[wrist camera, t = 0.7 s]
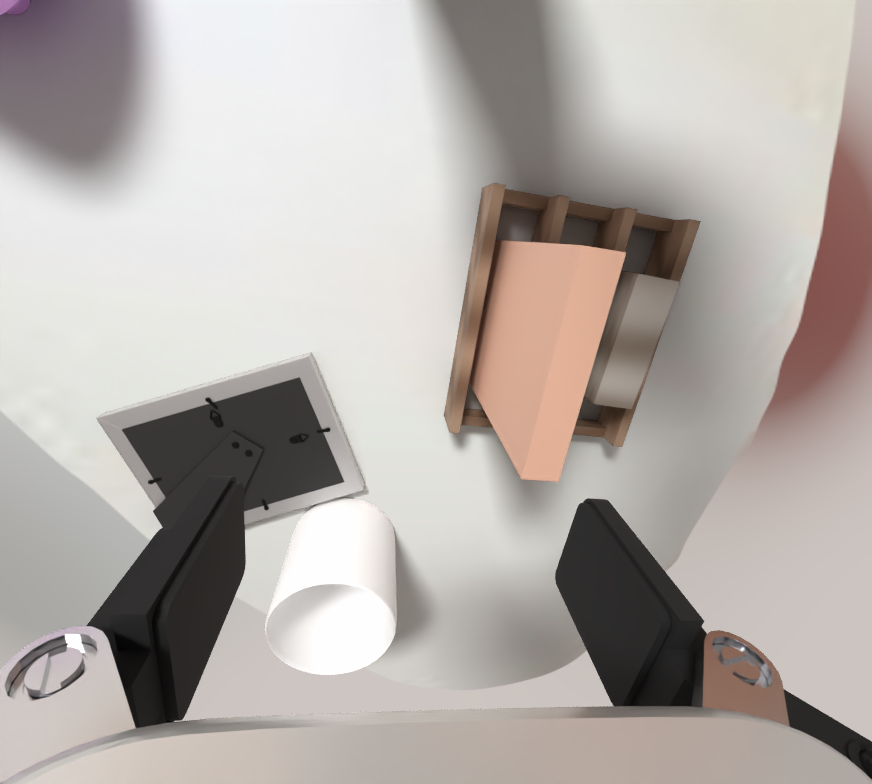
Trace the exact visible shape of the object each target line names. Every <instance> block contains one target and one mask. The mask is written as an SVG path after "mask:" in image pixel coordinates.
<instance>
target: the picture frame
mask: <svg viewBox="0 0 872 784" xmlns="http://www.w3.org/2000/svg"><path fill="white" fill-rule="evenodd" d="M96 419H97V420H98V422H99V423H100V425H101V426H102V428H103V429H104V431H105V432H106V434H107V435H108V437H109V438H110V440H111V441H112V443H113V444H114V446H115V447H116V449H117V450H118V452H119V453H120V455H121V456H122V458H123V459H124V461H125V462H126V464H127V465H128V467H129V468H130V470H131V471H132V473H133V474H134V476H135V477H136V479H137V480H138V482H139V483H140V485H141V486H142V488H143V489H144V491H145V492H146V494H147V495H148V497H149V498H150V500H151V501H152V503H153V504H154V506H155V507H156V509H155V510H154V511H153V512H154V514H155V516H156V517H157V519H158V520H159V522H160V524H161V525H162V527H163V528H164V527H173V526H174V524H175V523H176V522H177V520H178V519H179V517H180V516H181V515H182V513H183V512H184V510H185V509H186V508H187V506H188V505H189V503H190V502H191V501H192V499H193V498H194V496H195V495H196V494H197V492H198V491H199V489H200V488H201V487H202V485H203V484H204V482H205V481H206V480H207V478H208V477H209V476H211V475H215V476H232V477H235V478H236V483H242V484H243V490H244V525H246V524H249V523H253V522H256V521H260V520H263V519H267V518H270V517H273V516H277V515H280V514H284V513H287V512H290V511H294V510H297V509H301V508H304V507H308V506H311V505H314V504H318V503H321V502H325V501H328V500H331V499H335V498H338V497H342V496H345V495H349V494H352V493H355V492H359V491H362V490H364V480H363V477H362V475H361V473H360V470H359V468H358V465H357V463H356V460H355V458H354V455H353V453H352V450H351V448H350V445H349V443H348V441H347V438H346V436H345V433H344V431H343V428H342V426H341V423H340V421H339V418H338V416H337V413H336V411H335V409H334V406H333V404H332V401H331V399H330V396H329V394H328V391H327V389H326V386H325V384H324V381H323V379H322V376H321V374H320V372H319V369H318V367H317V364H316V362H315V359H314V357H313V354H312V352H310V353H307V354H303V355H300V356H297V357H293V358H290V359H286V360H283V361H280V362H276V363H273V364H269V365H266V366H262V367H259V368H256V369H252V370H249V371H245V372H242V373H238V374H235V375H232V376H228V377H225V378H221V379H218V380H215V381H211V382H208V383H204V384H201V385H197V386H194V387H191V388H187V389H184V390H180V391H177V392H173V393H170V394H167V395H163V396H160V397H156V398H153V399H150V400H146V401H143V402H139V403H136V404H132V405H129V406H126V407H122V408H119V409H115V410H112V411H109V412H105V413H104V414H102V415H101V416H99V417H97V418H96Z"/></svg>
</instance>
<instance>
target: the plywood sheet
mask: <svg viewBox="0 0 872 784" xmlns="http://www.w3.org/2000/svg"><path fill="white" fill-rule="evenodd" d="M625 256H626V252H620V251H614V250H608V249H602V248H596V247H590V246H584V245H571V244H554V243H538V242H521V241H504V240H495V245H494V250H493V256H492V261H491V266H490V272H489V277H488V282H487V288H486V293H485V298H484V304H483V309H482V314H481V320H480V325H479V330H478V336H477V341H476V347H475V352H474V357H473V363H472V368H471V373H470V379H469V383H470V385H471V387H472V389H473V391H474V393H475V394H476V396H477V398H478V400H479V402H480V404H481V406H482V407H483V409H484V411H485V413H486V415H487V417H488V418H489V420H490V422H491V424H492V426H493V428H494V429H495V431H496V433H497V435H498V437H499V439H500V441H501V442H502V444H503V446H504V448H505V450H506V452H507V453H508V455H509V457H510V459H511V461H512V463H513V465H514V466H515V468H516V470H517V472H518V474H519V476H520V477H521V479H527V480H541V481H556V482H559V479H560V475H561V472H562V468H563V465H564V462H565V458H566V455H567V452H568V448H569V445H570V441H571V438H572V435H573V431H574V428H575V425H576V421H577V418H578V414H579V411H580V408H581V404H582V401H583V398H584V394H585V391H586V387H587V384H588V381H589V377H590V374H591V371H592V367H593V364H594V360H595V357H596V354H597V350H598V347H599V344H600V340H601V337H602V333H603V330H604V327H605V323H606V320H607V316H608V313H609V310H610V306H611V303H612V300H613V296H614V293H615V289H616V286H617V283H618V279H619V276H620V273H621V269H622V266H623V262H624V259H625Z"/></svg>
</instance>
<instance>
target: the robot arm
mask: <svg viewBox="0 0 872 784" xmlns="http://www.w3.org/2000/svg"><path fill="white" fill-rule="evenodd" d="M245 562H246V560H245V525H244V490H243V484H242V483H236V478H235V477H232V476H215V475H211V476H209V477H208V478H207V480H206V481H205V482H204V484H203V485H202V487H201V488H200V489H199V491H198V492H197V494H196V495H195V496H194V498H193V499H192V501H191V502H190V503H189V505H188V506H187V508H186V509H185V510H184V512H183V513H182V515H181V516H180V517H179V519H178V520H177V522H176V523H175V524H174V526H173V527H164V528H162V529H160V530H159V531H158V532H157V533H156V534H155V536H154V537H153V538H152V540H151V541H150V542H149V544H148V545H147V546H146V548H145V549H144V550H143V552H142V553H141V554H140V556H139V557H138V558H137V560H136V561H135V562H134V564H133V565H132V566H131V568H130V569H129V570H128V572H127V573H126V574H125V576H124V577H123V578H122V580H121V581H120V582H119V583H118V585H117V586H116V587H115V589H114V590H113V591H112V593H111V594H110V595H109V597H108V598H107V599H106V601H105V602H104V604H103V605H102V606H101V607H100V609H99V610H98V611H97V613H96V614H95V615H94V617H93V618H92V619H91V621H90V622H89V623H88V625H87V626H76V627H69V628H64V629H61V630H58V631H56V632H53V633H50V634H47V635H45V636H44V637H41V638H39V639H38V640H36V641H34V642H32V643H30V644H29V645H27V646H26V647H25V648H23V649H22V650H21V651H19V652H18V653H17V654H15V655H14V656H13V657H12V658H11V659H10V660H9V661H8V662H7V663H6V664H5V665H4V666H3V667H2V668H1V670H0V784H872V742H871V741H870V740H868V739H866V738H865V737H863V736H861V735H860V734H858V733H856V732H854V731H853V730H851V729H850V728H848V727H846V726H844V725H843V724H841V723H839V722H838V721H836V720H834V719H833V718H831V717H829V716H828V715H826V714H824V713H823V712H821V711H819V710H818V709H816V708H814V707H812V706H811V705H809V704H807V703H806V702H804V701H802V700H801V699H799V698H797V697H796V696H794V695H792V694H791V693H789V692H787V691H786V690H784V689H783V685H782V680H781V678H780V675H779V673H778V671H777V670H776V668H775V667H774V665H773V664H772V662H771V661H770V660H769V659H768V658H767V657H766V656H765V655H764V654H763V653H762V652H761V651H759V650H758V649H757V648H756V647H754V646H753V645H752V644H751V643H749V642H747V641H745V640H744V639H742V638H741V637H738V636H736V635H734V634H731V633H729V632H724V631H711V632H709V633H708V634H707V633H706V632H705V631H704V630H703V628H702V627H701V626H702V624H703V622H704V620H703V619H702V618H701V616H700V615H699V614H698V613H697V611H696V610H695V609H694V608H693V607H692V605H691V604H690V603H689V601H688V600H687V599H686V598H685V596H684V595H683V594H682V593H681V591H680V590H679V589H678V587H677V586H676V585H675V584H674V583H673V581H672V580H671V579H670V577H669V576H668V575H667V574H666V572H665V571H664V570H663V569H662V567H661V566H660V565H659V564H658V562H657V561H656V560H655V559H654V557H653V556H652V555H651V554H650V552H649V551H648V550H647V549H646V547H645V546H644V545H643V544H642V542H641V541H640V540H639V539H638V537H637V536H636V535H635V533H634V532H633V531H632V530H631V528H630V527H629V526H628V525H627V523H626V522H625V521H624V520H623V518H622V517H621V516H620V515H619V513H618V512H617V511H616V510H615V508H614V507H613V506H612V505H611V503H610V502H609V501H608V500H604V499H586V500H585V501H584V502H583V503H581V504H579V506H578V508H577V511H576V514H575V517H574V519H573V522H572V525H571V528H570V531H569V534H568V537H567V540H566V543H565V546H564V549H563V552H562V555H561V558H560V561H559V564H558V567H557V570H556V574H555V579H556V584H557V587H558V589H559V591H560V593H561V595H562V597H563V600H564V602H565V604H566V606H567V608H568V610H569V612H570V615H571V617H572V619H573V621H574V623H575V625H576V627H577V630H578V632H579V634H580V636H581V638H582V640H583V642H584V645H585V647H586V649H587V651H588V653H589V655H590V658H591V660H592V662H593V664H594V666H595V668H596V670H597V673H598V675H599V677H600V679H601V681H602V683H603V685H604V687H605V690H606V692H607V694H608V696H609V698H610V700H611V702H612V703H613V705H614V706H613V707H559V708H558V707H557V708H512V709H510V708H509V709H468V710H431V711H430V710H429V711H395V712H394V711H392V712H363V713H362V712H361V713H329V714H328V713H327V714H295V715H273V716H253V717H233V718H212V719H201V720H191V721H181V722H174V721H176V720H177V721H178V720H182V719H183V718H184V716H185V714H186V712H187V710H188V708H189V705H190V703H191V700H192V698H193V696H194V693H195V691H196V688H197V686H198V684H199V681H200V679H201V676H202V674H203V671H204V669H205V666H206V664H207V662H208V659H209V657H210V655H211V652H212V650H213V647H214V645H215V643H216V640H217V638H218V635H219V633H220V630H221V628H222V625H223V623H224V621H225V619H226V616H227V614H228V611H229V609H230V606H231V604H232V602H233V599H234V597H235V594H236V592H237V590H238V587H239V585H240V582H241V580H242V577H243V574H244V570H245Z"/></svg>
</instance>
